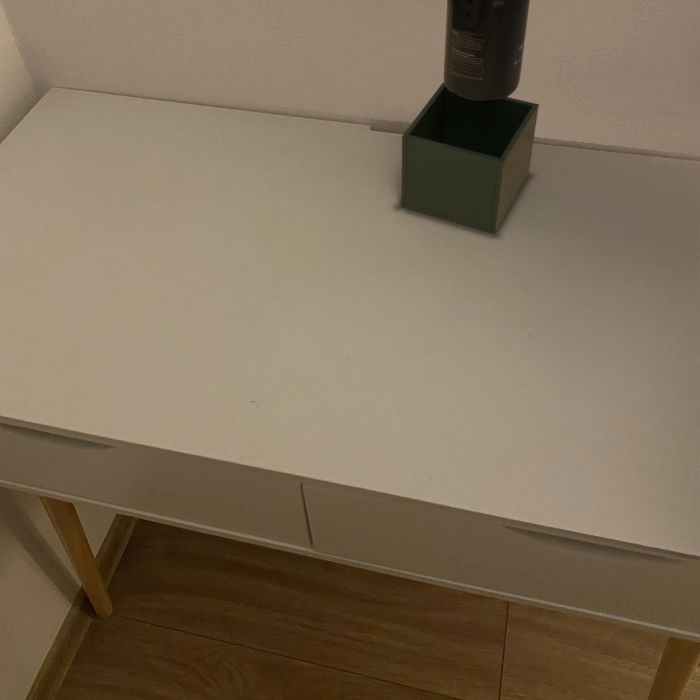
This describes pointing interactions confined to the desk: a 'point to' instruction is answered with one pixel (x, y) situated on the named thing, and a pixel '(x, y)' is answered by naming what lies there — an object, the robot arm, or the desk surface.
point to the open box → (467, 158)
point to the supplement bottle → (486, 54)
